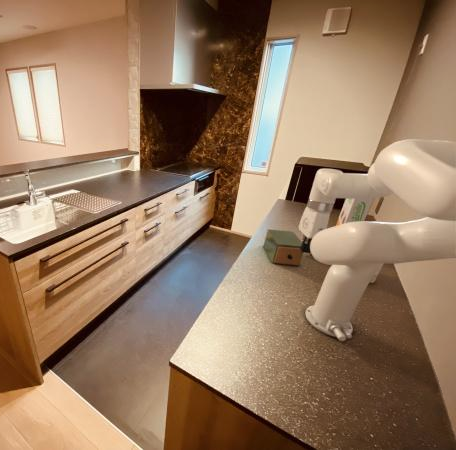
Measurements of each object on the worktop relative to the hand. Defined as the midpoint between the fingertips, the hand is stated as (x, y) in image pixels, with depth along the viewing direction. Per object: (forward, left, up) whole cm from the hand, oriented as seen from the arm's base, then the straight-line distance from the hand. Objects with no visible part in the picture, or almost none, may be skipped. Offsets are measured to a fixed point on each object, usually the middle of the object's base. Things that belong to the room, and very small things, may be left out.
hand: (305, 251), depth 93 cm
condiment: (+21, -18, -13) cm, 30 cm away
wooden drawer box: (+16, 0, -12) cm, 20 cm away
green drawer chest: (+19, 0, -13) cm, 23 cm away
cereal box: (+37, -36, -13) cm, 53 cm away
